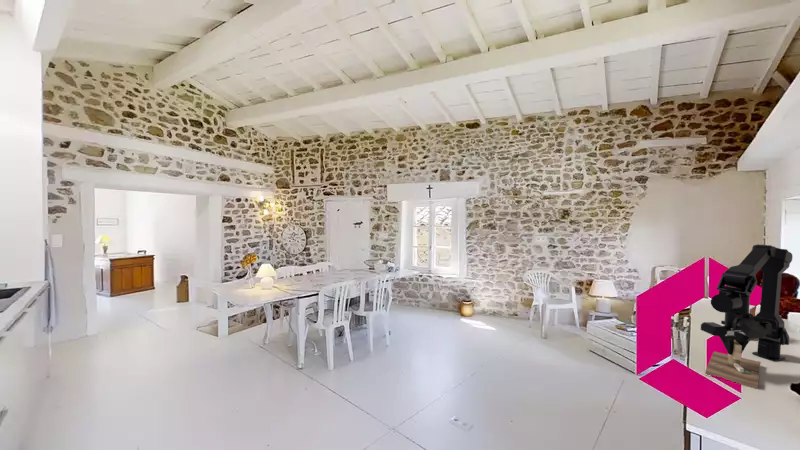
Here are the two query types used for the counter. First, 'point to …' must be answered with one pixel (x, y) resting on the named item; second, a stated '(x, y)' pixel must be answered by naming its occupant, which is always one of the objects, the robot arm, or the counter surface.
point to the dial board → (734, 370)
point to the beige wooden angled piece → (735, 357)
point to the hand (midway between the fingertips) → (734, 354)
